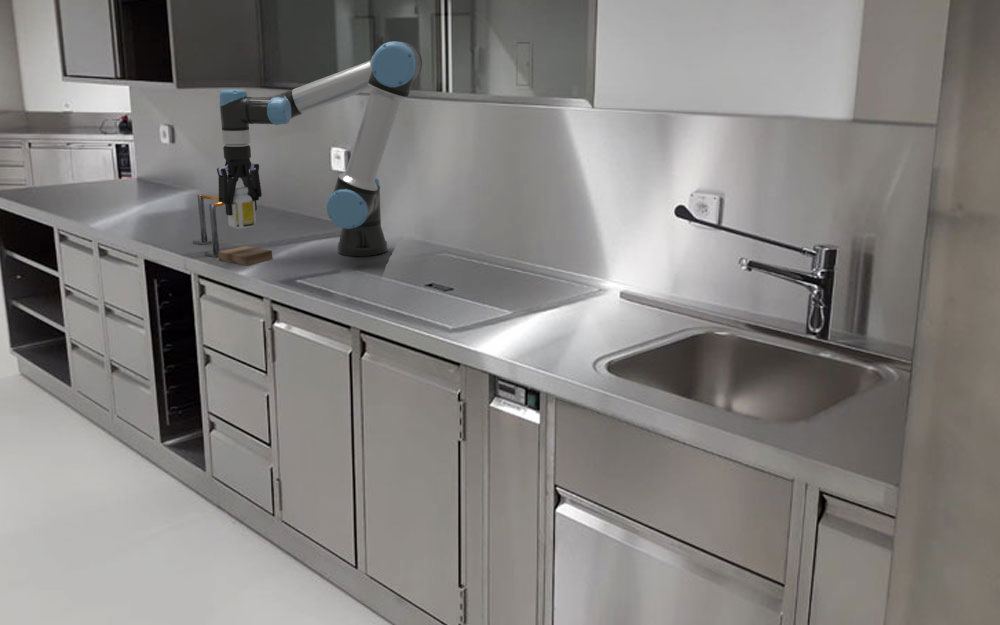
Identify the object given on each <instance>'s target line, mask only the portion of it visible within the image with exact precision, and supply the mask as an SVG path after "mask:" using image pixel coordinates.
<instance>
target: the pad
mask: <svg viewBox="0 0 1000 625" xmlns="http://www.w3.org/2000/svg"><path fill="white" fill-rule="evenodd" d="M218 256H219V257H218V260H219V261H221V262H222V261H223V262H228V263H233V264H237V265H242V266H249V265H253V264H258V263H262V262H266V261H269V260H273V250H270V249H266V248H259V247H254V246H248V245H242V246H237V247H233V248H228V249H224V250H222V251H219V252H218Z"/></svg>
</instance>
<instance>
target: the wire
mask: <svg viewBox="0 0 1000 625" xmlns="http://www.w3.org/2000/svg"><path fill="white" fill-rule="evenodd" d="M196 196H197V205H198V217H199V218H198V219H199V229H200V238H198V239H194V240H192V244H195V245H201V246H204V245H209V244H212V250H210V251H206V252H204V253H203V254H204V256H206V257H211V258H219V256H218V252H219V251H223V250H221V249H220V242H219V229H218V222H217V221H218V220H217V211H216V210H217V209H216V208H220V207H223V206H224V207H225V204H224V203H221V202H219V196H215V195H207V194H202V193H201V194H200V193H198V194H197V195H196ZM205 200H210V201H211V200H212V201H216V202H214V203H209V204H208V208H209V220H210V221H209V222H210V230H211V232H210V233H211V238H208V235H207V234H208V232H207V221H206V210H205Z"/></svg>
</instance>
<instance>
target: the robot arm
mask: <svg viewBox="0 0 1000 625" xmlns="http://www.w3.org/2000/svg"><path fill="white" fill-rule="evenodd" d="M422 68H423V57H422V54H421V52H420V51H419V50H418V48H417V47H416V46H414V45H413V44H412V43H409V42H407V41H397V40H396V41H395V40H394V41H388V42H386V43H383V44H382V45H381V46H379V47H378V48H377V49H376V51H375V52H374V53H373V55H372V56H371V59H370V60H368V61H365V62H363V63H360V64H358V65H355V66H352V67H349V68H346V69H344V70H341V71H338V72H337V73H333V74H330V75H328V76H324V77H323V78H320V79H317V80H314V81H311V82H309V83H306V84H303V85H301V86H299V87H296V88H293V89H291V90H288V91H285V92H282V93H279V94H276V95H271V96H260V97H258V96H257V97H256V96H255V97H254V96H248V94H247V90H245V89H239V88H238V89H237V88H236V89H234V88H233V89H230V88H229V89H222V90H221V91H220V92H219V109H220V110H219V112H220V122H221V135H222V144H223V147H222V148H223V149H222V150H223V158H224V159H225V163H224V166H223V167H217V168H216V171H217V176H218V197H219V201H218V203H219V202H221V203H224V204H225V206H224V207H225V214H226V216H227V221H228V226H229V227H232V226H233V227H237V221H236V208H235V204H233V199H234V194H235V188H236V187H237V183H238V182H239V180H241V181H242V183H243V187H248V193H247V194H248V195H249V196H250V197H251V198H252V205H253V218H254V224H257V219H256V218H257V215H256V213H257V212H256V211H257V210H258V208H257V201H259V199H260V198H262V196H263V194H262V187H261V182H260V181H261V180H260V174H259V173H260V172H259V171H260V164H259V163H254V162H253V163H252V162H251V157H252V153H251V152H252V151H251V146H250V145H249V144H251V136H250V127H249V126H250V125H255V124H256V125H274V126H279V125H287V124H289V123H290V121H291V120H292V119H293V118H295V117H298V116H300V115H302V114H305V113H309V112H311V111H314V110H317V109H319V108H322V107H325V106H328V105H330V104H334V103H336V102H338V101H342V100H345V99H347V98H350V97H353V96H355V95H358V94H361V93H363V92H364V93H365V92H366V91H369V90H370V93H369V97H368V100H367V103H366V107H365V110H364V112H363V116H362V118H361V122H360V126H359V127H358V132H357V135H356V137H355V140H354V144H353V147H352V151H351V154H350V157H349V160H348V163H347V165H346V170H345V171H344V172H342V173H340V174H338V177H337V180H336V182H335V183H336V184H335V187H334V189H333V192H332V193H331V194H330V195H329V197H328V199H327V202H326V213H327V216H328V217H329V219H330V221H331V222H332V224H334V225H336V226H337V227H339V228H342V229H341V233H340V237H339V242H338V243H337V253H339V254H340V255H343V256H349V257H350V256H351V257H371V255H372V256H378V255H377V254H379V255H382V254H384V252H385V253H386V251H387V252H388V242H387V240H386V238H385V235H384V231H383V228H382V221H381V220H382V219H381V218H382V217H381V214H382V213H381V190H380V189H381V185H380V180H379V178H378V177H377V175H378V172H379V168H380V166H381V164H382V160H383V156H384V154H385V150H386V147H387V145H388V142H389V139H390V138H389V137H390V135H391V132H392V130H393V125H394V123H395V119H396V116H397V114H398V110H399V107H400V105H401V102H402V101H404V100H406V99H408V97H409V94H410V92H411V89H412V86H413V83H414V81H415V80H416V79H417V77H419V76H420V74H421V72H422V70H423V69H422ZM233 227H232V228H233ZM381 253H382V254H381Z"/></svg>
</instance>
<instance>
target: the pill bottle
mask: <svg viewBox="0 0 1000 625" xmlns="http://www.w3.org/2000/svg"><path fill="white" fill-rule="evenodd" d="M247 193H248V187H244V186H236V188H235V194H234V199H233V204H235V208H236V221H237V227H233V226H231V228H233V229H237V230H238V229H239V230H244V229H245V230H246V229H250V228H253V227H254V226H255V223H254V218H253V205H252V198H251V197H250V196H249V195H248V194H247Z"/></svg>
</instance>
